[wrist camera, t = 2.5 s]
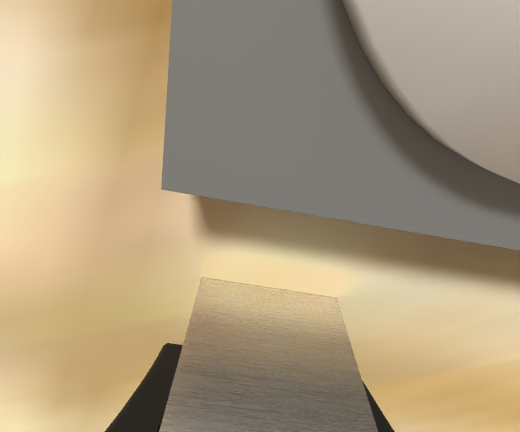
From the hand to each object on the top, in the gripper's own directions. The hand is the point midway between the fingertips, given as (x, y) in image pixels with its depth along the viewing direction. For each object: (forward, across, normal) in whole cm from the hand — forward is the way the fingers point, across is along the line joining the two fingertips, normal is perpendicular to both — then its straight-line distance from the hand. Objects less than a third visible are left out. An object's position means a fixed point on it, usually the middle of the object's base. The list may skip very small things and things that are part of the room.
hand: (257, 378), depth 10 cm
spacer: (+2, 0, 0) cm, 2 cm away
